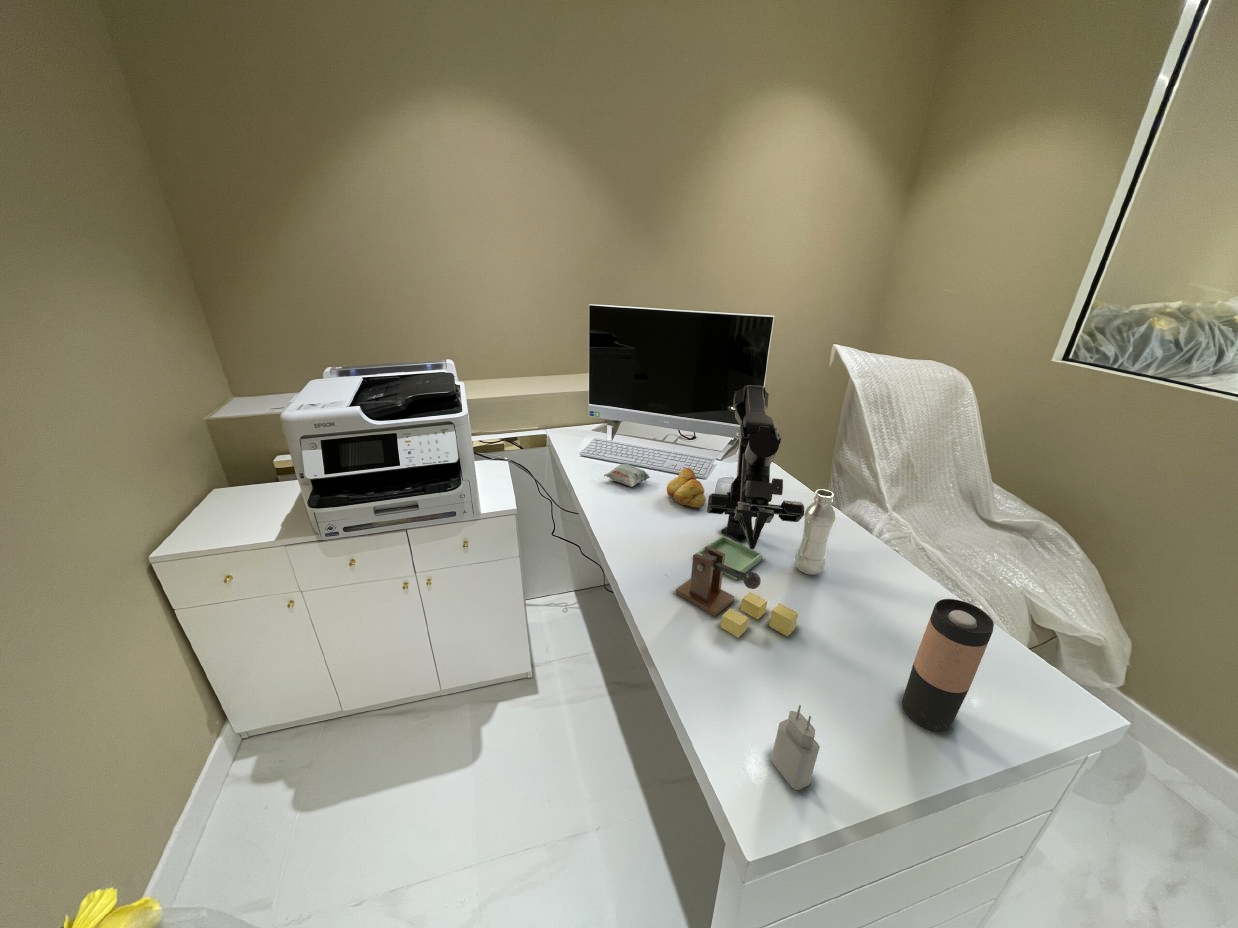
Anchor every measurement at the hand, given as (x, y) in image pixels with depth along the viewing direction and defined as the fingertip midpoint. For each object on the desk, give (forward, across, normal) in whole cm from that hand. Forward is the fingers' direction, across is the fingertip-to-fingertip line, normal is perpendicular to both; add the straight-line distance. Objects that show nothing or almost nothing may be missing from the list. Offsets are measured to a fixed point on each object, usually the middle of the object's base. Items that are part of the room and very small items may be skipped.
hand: (752, 549), depth 100 cm
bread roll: (-21, -14, +39) cm, 47 cm away
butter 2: (+11, +2, +8) cm, 14 cm away
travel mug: (+25, +28, -6) cm, 38 cm away
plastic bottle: (-1, +15, +20) cm, 25 cm away
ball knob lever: (+6, -4, +2) cm, 7 cm away
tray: (-1, -3, +20) cm, 20 cm away
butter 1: (+15, -2, +3) cm, 16 cm away
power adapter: (+35, +4, -16) cm, 39 cm away
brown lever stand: (+9, -8, +9) cm, 15 cm away
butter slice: (+14, +7, +5) cm, 16 cm away
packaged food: (-26, -33, +45) cm, 62 cm away
